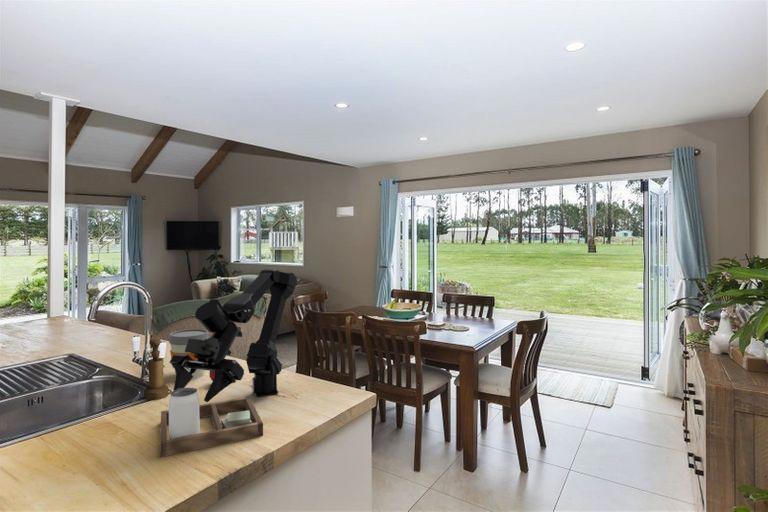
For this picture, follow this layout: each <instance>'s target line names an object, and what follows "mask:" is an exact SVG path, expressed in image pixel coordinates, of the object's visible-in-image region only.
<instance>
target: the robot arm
mask: <svg viewBox="0 0 768 512" xmlns="http://www.w3.org/2000/svg"><path fill="white" fill-rule="evenodd" d="M297 284H298V278H297V276H296V275H295V273H293V272H287V271H286V272H284V271H280V270H277V269H274V268H273V269H266V268H264V269H262V270H261V271H260V272H259V275H257V277H256V278H255V279H254V280H252V282H251V283H250V284H249V285H248V286H247V287H246V289H245V290H244V291H243V292H242V293H241V294H239V295H237V296H234V297H232V298H230V299H229V300H227V301H226V302H225V303H224V304H223V305H222V304H221V302H220V301H219V299H218V298H210V300H209V301H208V302H204V303H203V304H202V305H201V306H199V307H197V308H196V311H195V314H194V315H195V318H196V319H197V320H198V321H199V323H200V324H201V325H202V326H203V327H204V329H205V330H208V333H212V334H211V335H210V337H209V338H208V339H205V340H198V339H188V342H187V345H186V348H185V352H190V353H194V355H193V356H194V357H195V358H197V359H198V361H194V360H193V359H192V358H191V357H190V356H189V355H184V354H176V355H173V357H172V359H171V358H170V360H169V364H170V365H171V366H172V368H173V369H174V372H175V371H176V375H175V381H174V386H173V391H174V390H177V389H181V388H186V386H188V384H189V383H190V381H191V380H193V379H192V378H193V375H192V374H193V373H194V372H195V371H196V370H197V369H200V370H204V371H208V372H210V371H215V377H214V380H213V381H212V382H211V383H210V386H209V388H208V390H207V392H206V393H205V396H204V398H203V399H204V400H203V401H204V402H205V403H208V402H210V401H211V400H212V399H213V398H214V397H216V396H217V395H218V394H219V393H220V392H221V391H223V390H225V389H226V388H227V387H229V386H230V385H231V384H235V383H236V382H237V381H242V379H243V377H244V375H245V369H244V367H242V365H241V364H240V363H239V362H238V361H237V359H231V358H230V359H229V358H226V356H231V354H232V351H231V347H232V345H233V343H234V341H235V339H236V337H238V338H242V337H243V332H242V330H241V326H238V325H237V324H247V323H248V322H249V321H250V320H251V319H252V317H253V315H254V313H255V312H256V307H255V306H256V305H257V303H258V302H259V301H260V300H261V299H262V298H263V297H264V295H265V294H266V293H267V291H268V290H269V293H270V299H269V303H268V306H267V309H266V314H265V317H264V320H263V324H262V327H261V330H260V334H259V338H258V340H256V341H255V342H251V343H250V344H249V349H248V352H247V354H246V365H247V369H248V372H249V374H253V377H252V379H251V381H252V383H251V384H252V385H251V386H252V393H253V394H255V397H257V398H258V397H264V396H269V395H270V396H271V395H276V394H279V390H278V386H277V385H278V384H277V383H278V382H277V381H278V380H277V379H278V378H277V375H280V373H281V372H282V369H283V368H282V366H283V364H282V363H281V361H280V360H279V359H278V358H277V357H278V350H277V346H276V340H277V335H278V332H279V329H280V324H281V321H282V317H283V313H284V309H285V305H286V302H287V300H288V299H289V298H290V297H291V296H292V295H293V293H294V292H295V288H296V286H297Z"/></svg>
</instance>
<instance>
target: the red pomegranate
mask: <svg viewBox="0 0 768 512" xmlns="http://www.w3.org/2000/svg"><path fill="white" fill-rule="evenodd" d="M208 375H209V378H210V381H212V382H213V380H214V377H215V371H209V373H208Z"/></svg>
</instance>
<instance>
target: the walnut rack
mask: <svg viewBox="0 0 768 512" xmlns="http://www.w3.org/2000/svg"><path fill="white" fill-rule="evenodd" d="M248 410H250V420H251V421H252V423H250V424H245V425H240V426H235V427H230V428H225V429H222V425H221V419H220V416H219V415H222V414H228V413H233V412H241V411H248ZM199 417H200V419H202V418H207V417H211V420H212V424H213V427H214V430H210V431H206V432H205V431H204V432H200V433H199V434H194V435H189V436H184V437H179V438H174V439H169V438H168V435H167V434H168V433H167V431H168V429H167V428H168V427H167V425H169V409H168V410H162V411H160V438H159V441H160V442H159V443H160V444H159V447H160V448H159V449H160V451H159V453H160V457H161V458H162V457H167V456H172V455H176V454H180V453H185V452H190V451H191V452H192V451H195V450H201V449H205V448H209V447H214V446H219V445H224V444H229V443H233V442H238V441H241V440H242V441H243V440H248V439H252V438H256V437H261V436H263V435H264V423H263V421H262V420H263V419H261V417H260V414H259V413H258V411H257V409H256V406H255V405H254V403H253V401H252V399H251V397H250V396H246V397H241V398H240V397H238V398H233V399H228V400H221V401H217V402H210V403H204V404H199Z"/></svg>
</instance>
